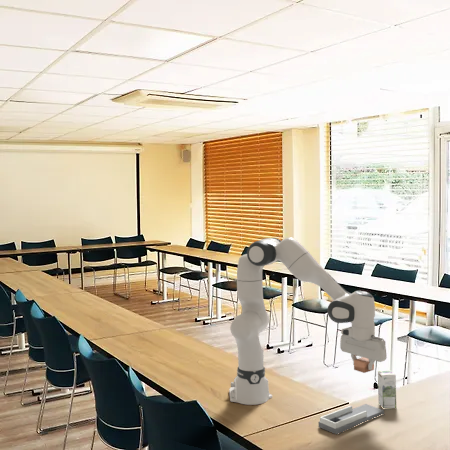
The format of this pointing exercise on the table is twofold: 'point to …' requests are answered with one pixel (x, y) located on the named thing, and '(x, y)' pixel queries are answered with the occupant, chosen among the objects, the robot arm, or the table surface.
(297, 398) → the table surface
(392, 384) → the syrup box
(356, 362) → the block
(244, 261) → the robot arm
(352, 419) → the channel
